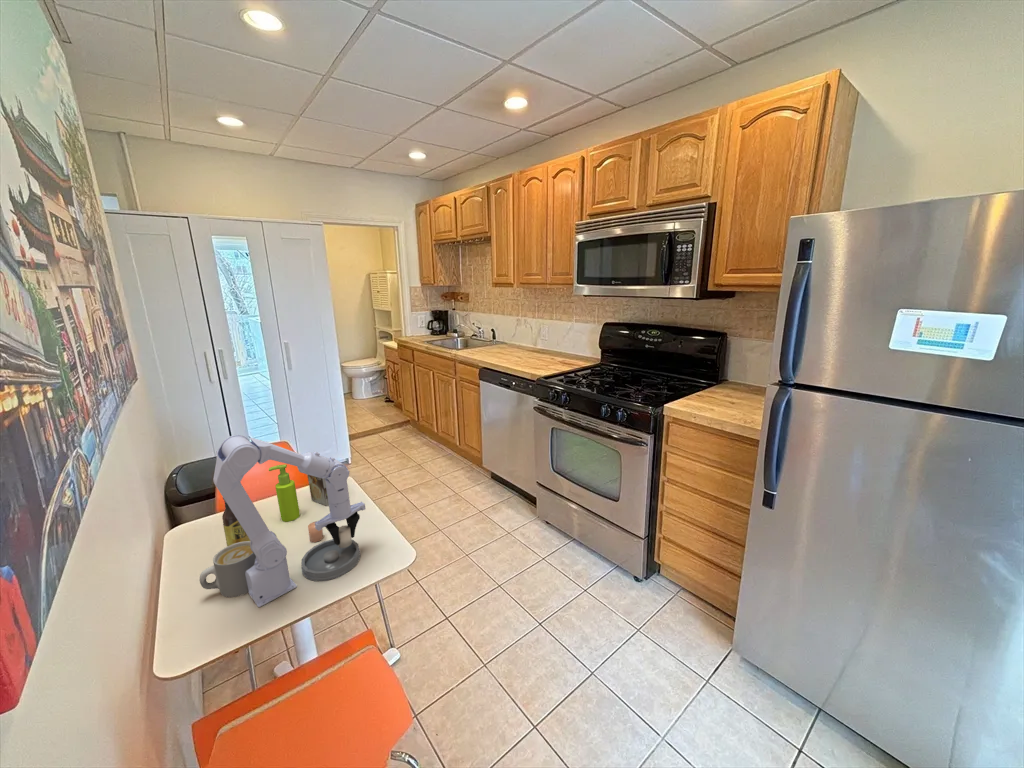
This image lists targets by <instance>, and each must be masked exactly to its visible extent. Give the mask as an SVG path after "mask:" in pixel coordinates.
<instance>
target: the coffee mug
mask: <svg viewBox="0 0 1024 768" xmlns="http://www.w3.org/2000/svg"><path fill="white" fill-rule="evenodd" d="M255 559H256V555H255V554H254V552H252V550H251V548H250V541H245V542H239V543H235V544H232V545H230V546H227V545H226V547H224V548H222V549H221V550H219V551H218V552H217V553H216V554H215V555H214V557H213V560H212V563H213V565H211V566H210V567H207V568H205V569H204V570H202V571H201V573H200V574H199V584H200V586H201V587H202V588H203V589H205V590H213V589H217V590H219V592H220V595H222V597H224V598H236V597H240V596H242V595H246V594H247V593H248V594H249V590H248V585H247V580H246V575H245V571H247V570H248V569H250V568H251V567H252V566H254V563H255ZM211 574H212V575H215V579H214V580H213V581H211V582H208V581H207V577H208V576H210V575H211Z"/></svg>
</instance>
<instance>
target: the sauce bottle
mask: <svg viewBox="0 0 1024 768" xmlns="http://www.w3.org/2000/svg"><path fill="white" fill-rule="evenodd" d="M222 500H223V502H224V510H223V511H224V512H223V513H222V523H223V525H222V526H223V532H224V536H225V541H226V542H225V543H226V547H227V546H230V545H232V544H235V543H239V542H245V541H250V539H249V537H248V536H247V534H246V532H245V531H244V529H243V528H242V526H241V525H240V523H239V521H238V520H237V518H236V517H235V515H234V514H233V512H232V510H231V509H230V507H229V506H228V504H227V503H226V501H225V500H224V498H223V497H222Z"/></svg>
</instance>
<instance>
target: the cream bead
mask: <svg viewBox="0 0 1024 768" xmlns="http://www.w3.org/2000/svg"><path fill="white" fill-rule="evenodd" d="M338 527H339V540H340V544H339V545H338V547H339V548H346V547H348V546H350V545H351V544H352V540H353V538H352V537H351V530H350V526H348V525H345V524H344V525H340V526H338Z"/></svg>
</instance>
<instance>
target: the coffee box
mask: <svg viewBox="0 0 1024 768" xmlns="http://www.w3.org/2000/svg"><path fill="white" fill-rule="evenodd" d="M306 475H307V481H308V487H309V492H310V498H311V501H312V502H314V503H317V504H320V505H323V506H325V507H326V506H328V507H329V503H328V496H327V490H326V481H325V479H326V478H318V477H315V476H311V475H308V474H306Z"/></svg>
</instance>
